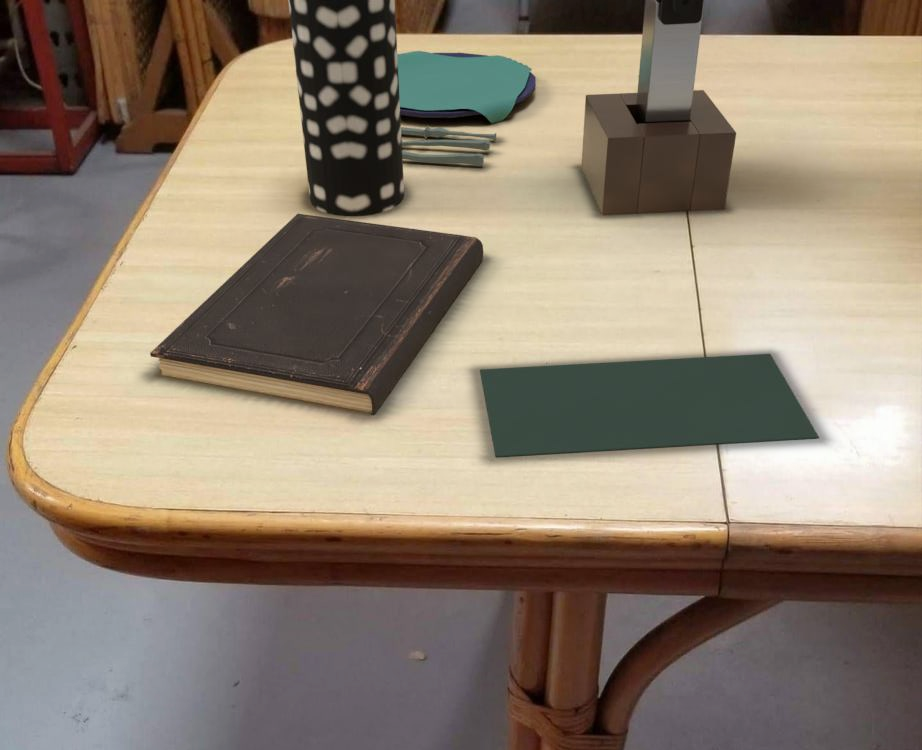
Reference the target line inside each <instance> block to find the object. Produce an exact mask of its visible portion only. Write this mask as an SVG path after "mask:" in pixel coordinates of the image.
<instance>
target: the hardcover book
mask: <svg viewBox="0 0 922 750" xmlns="http://www.w3.org/2000/svg"><path fill="white" fill-rule="evenodd" d="M483 260H484V244H483V243H482V241H481V240H480V239H479V238H478V237H476V236H470V235H469V236H468V235H462V234H454V233H447V232H439V231H432V230H424V229H417V228H409V227H401V226H393V225H387V224H379V223H372V222H365V221H357V220H350V219H344V218H343V219H342V218H335V217H327V216H319V215H312V214H304V213H296V214H295V215H294V216H293V217H292V218H291V219H290V220H289V221H288V222H287V223H286V224H285V225H284V226H282V227H281V229H280V230H278V231H277V232H276V233H275V234H274V235H273V236H272V237H270V239H269V240H268V241H267V242H266V243H265V244H264V245H263V246H262V247H260V249H258V250H257V251H256V252H255V253H254V254H253V255H252V256H251V257H250V258H249V259H248V260H247V261H245V262H244V264H243V265H242V266H240V267H239V268H238V269H237V270H236V271H235V272H234V273H233V274H232V275H231V276H230V277H229V278H228V279H226V281H225V282H223V283H222V284H221V285H220V286H219V287H218V288H217V289H216V290H215V291H214V292H213V293H212V294H211V295H210V296H209V297H207V298H206V299H205V300H204V302H202V303H201V304H200V305H199V306H198V307H197V308H196V309H195V310H194V311H193V312H192V313H190V315H188V317H186V318H185V319H184V320H183V321H182V322H181V323H180V324H179V325H178V326H176V328H175V329H174V330H173V331H171V332H170V334H168V335H167V336H166V337H165V338H164V339H163V340H162V341H161V342H160V343H159V344H158V345H157V346H155V348H153V350H152V351H151V352H149V354H150V358H151V357H152V358H156V359H157V358H158V362H159V364H158V368H159V369H160V370H161V375H162V376H166V377H171V378H177V379H181V380H182V379H183V380H187V381H193V382H199V383H205V384H211V385H217V386H222V387H227V388H232V389H238V390H244V391H248V392H254V393H260V394H266V395H272V396H277V397H282V398H287V399H294V400H300V401H304V402H311V403H315V404H321V405H327V406H332V407H338V408H344V409H349V410H354V411H359V412H366V413H371V414H370V415H371V416H374V415H375V414H376V413H377V411H378V410H379V408H380V407H381V406H382V404H383V403H384V401H385V400H386V399H387V397H388V396H389V394H390V393H391V391H392V390H393V388H394V387H395V385H396V384H397V382H398V381H399V380H400V378H401V377H402V376H403V374H404V372H405V371H406V370H407V368H408V367H409V365H410V364H411V363H412V361H413V360H414V358H415V357H416V355H417V354H418V352H419V351H420V350H421V348H422V347H423V345H424V344H425V343H426V342H427V340H428V338H429V337H430V336H431V334H432V333H433V331H434V330H435V328H436V327H437V325H438V324H439V322H440V321H441V319H443V317H444V316H445V314H446V312H447V311H448V310H449V308H450V307H451V305H453V303H454V301H455V300H456V299H457V297H458V295H459V294H460V292H461V291H462V290H463V288H464V287H465V285H466V284H467V282H468V281H469V280H470V279H471V277H472V275H473V274H474V273H475V271H476V270H477V268H478V267H479V266H480V264H481V263H482V261H483Z"/></svg>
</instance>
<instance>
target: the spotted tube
mask: <svg viewBox="0 0 922 750" xmlns="http://www.w3.org/2000/svg"><path fill="white" fill-rule="evenodd" d="M287 1H288V10H289V18H290V19H289V20H290V28H291V37H292V38H291V39H292V46H293V47H292V48H293V55H294V56H293V57H294V67H295V75H296V83H297V84H296V85H297V91H298V93H297V94H298V102H299V103H298V104H299V111H300V112H299V113H300V120H301V121H300V122H301V129H302V139H303V140H302V141H303V149H304V158H305V166H306V176H307V185H308V193H309V194H308V195H309V202H310V204H311V205H312V206H313V207H314V209H316V210H318V211H320V212H322V213H326V214H329V215H333V216H340V217H341V216H342V217H365V216H372V215H376V214H381V213H385V212H387V211H390V210H393V209H394V208H396V207H397V206H399V205H400V204H401V203H402V201H403V200H404V198H405V185H404V184H405V183H404V163H403V161H404V159H402V152H403V146H402V141H403V140H402V134H401V127H402V122H401V120H402V119H401V115H400V98H399V78H398V57H397V54H398V41H397V39H398V37H397V20H396V19H397V18H396V0H287Z"/></svg>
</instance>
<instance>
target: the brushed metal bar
mask: <svg viewBox="0 0 922 750" xmlns="http://www.w3.org/2000/svg"><path fill="white" fill-rule="evenodd" d="M704 6H705V0H704V1H703V8H704ZM660 9H661V0H645V1H644V12H643V24H642V34H641V35H642V36H641V45H640V46H641V47H640V48H641V49H640V56H639V57H640V59H639V69H638V70H639V71H638V81H637V92H636V93H637V103H636V115H635V116H636V118H637V120H638V121H639V123H640V124H645V123H668V122H690V116H691V107H692V99H693V91H694V90H695V81H696V72H697V63H698V57H699V48H700V41H701V40H700V39H701V32H702V31H701V30H702V24H703V23H702V22H703V17H702V18H701V20H700V22H698V23H690V24H671V25H664V24H663V23H662V22H661V21H660ZM703 15H704V9H703V10H702V16H703Z"/></svg>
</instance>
